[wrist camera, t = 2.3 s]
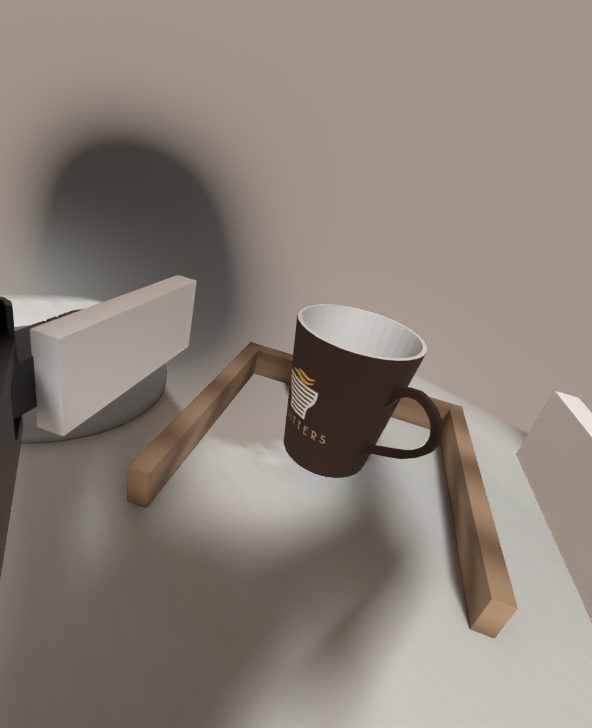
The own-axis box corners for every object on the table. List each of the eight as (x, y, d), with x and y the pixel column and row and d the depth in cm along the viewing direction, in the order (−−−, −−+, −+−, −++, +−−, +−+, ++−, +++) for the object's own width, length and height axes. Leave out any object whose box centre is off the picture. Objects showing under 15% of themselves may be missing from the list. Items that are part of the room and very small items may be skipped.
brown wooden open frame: (494, 638, 20) (517, 608, 18) (127, 500, 22) (128, 466, 21) (451, 429, 37) (461, 406, 35) (246, 364, 39) (250, 342, 38)
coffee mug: (267, 408, 33) (292, 295, 29) (364, 420, 35) (401, 315, 30) (273, 521, 23) (312, 374, 18) (409, 532, 24) (475, 398, 20)
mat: (190, 420, 29) (191, 412, 29) (-107, 466, 21) (-110, 454, 20) (143, 329, 41) (143, 322, 41) (-62, 335, 32) (-64, 326, 32)
